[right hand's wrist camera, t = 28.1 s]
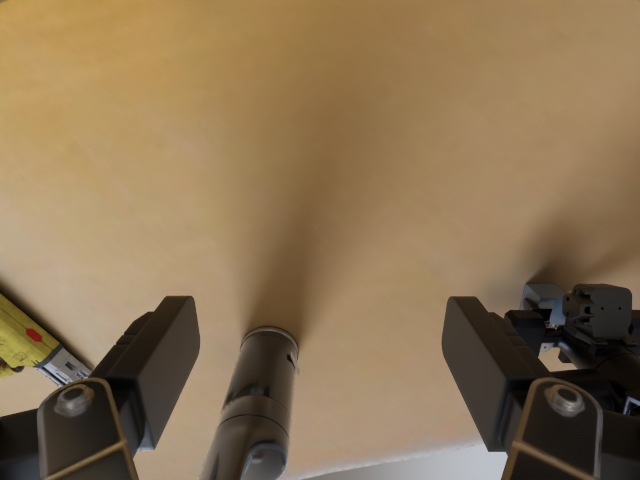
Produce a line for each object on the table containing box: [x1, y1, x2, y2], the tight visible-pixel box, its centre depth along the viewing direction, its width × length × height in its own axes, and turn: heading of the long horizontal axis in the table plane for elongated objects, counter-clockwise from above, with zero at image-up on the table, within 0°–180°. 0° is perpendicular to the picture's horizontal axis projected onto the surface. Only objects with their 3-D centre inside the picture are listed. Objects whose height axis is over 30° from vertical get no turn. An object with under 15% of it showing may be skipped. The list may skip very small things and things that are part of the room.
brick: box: [520, 283, 567, 324], centre depth 55 cm, size 5×4×4 cm
